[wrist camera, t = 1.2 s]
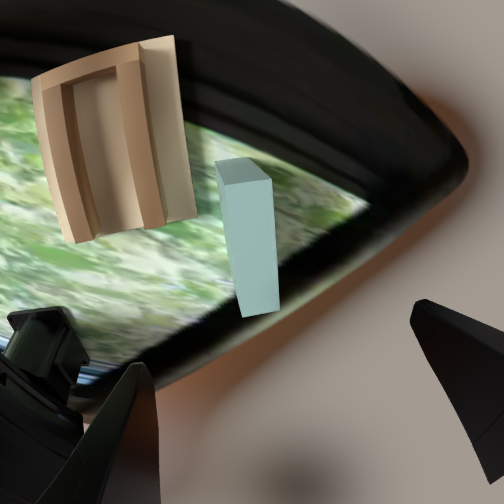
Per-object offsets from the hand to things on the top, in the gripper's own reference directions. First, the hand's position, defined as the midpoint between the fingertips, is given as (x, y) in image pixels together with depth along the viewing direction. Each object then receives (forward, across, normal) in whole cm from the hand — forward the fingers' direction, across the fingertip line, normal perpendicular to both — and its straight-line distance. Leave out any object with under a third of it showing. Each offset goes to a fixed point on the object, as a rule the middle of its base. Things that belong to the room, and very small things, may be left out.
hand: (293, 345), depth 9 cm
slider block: (+12, 0, 0) cm, 12 cm away
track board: (+12, +7, -6) cm, 15 cm away
